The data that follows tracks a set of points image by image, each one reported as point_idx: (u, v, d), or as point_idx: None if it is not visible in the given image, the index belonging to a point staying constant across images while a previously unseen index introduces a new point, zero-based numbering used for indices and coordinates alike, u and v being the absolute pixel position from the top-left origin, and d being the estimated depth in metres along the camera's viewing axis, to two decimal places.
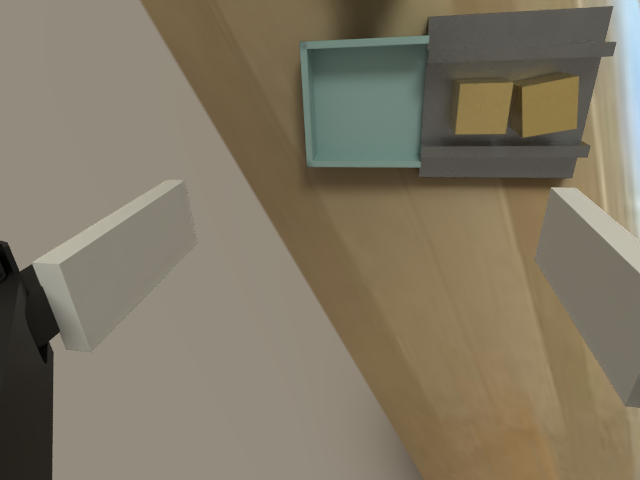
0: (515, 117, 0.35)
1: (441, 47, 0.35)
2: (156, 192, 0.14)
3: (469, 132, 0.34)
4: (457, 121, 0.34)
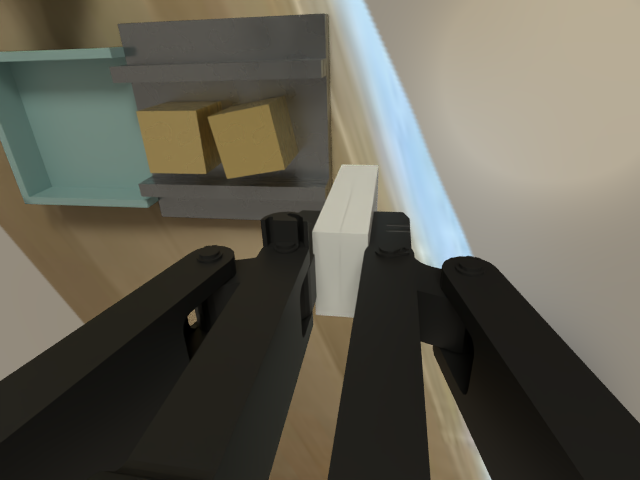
0: None
1: (142, 62, 0.28)
2: (347, 175, 0.15)
3: (165, 171, 0.27)
4: (147, 157, 0.27)
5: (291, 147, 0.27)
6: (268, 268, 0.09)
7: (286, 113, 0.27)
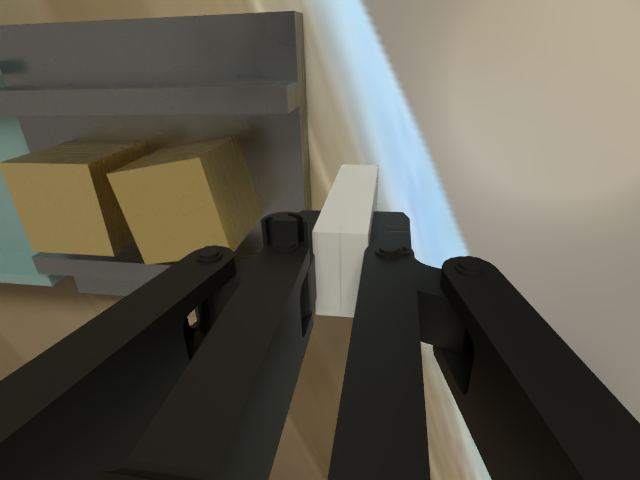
0: None
1: (27, 83, 0.19)
2: (347, 175, 0.15)
3: (54, 249, 0.18)
4: (26, 229, 0.17)
5: (247, 212, 0.18)
6: (268, 268, 0.09)
7: (240, 162, 0.18)
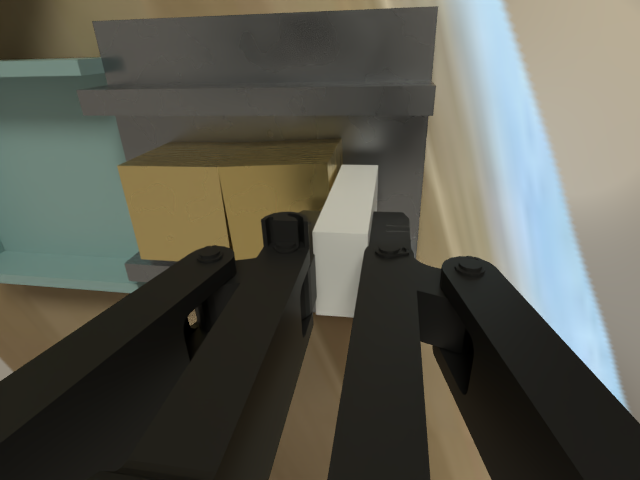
0: None
1: (131, 82, 0.18)
2: (347, 175, 0.15)
3: (165, 257, 0.17)
4: (137, 236, 0.16)
5: None
6: (268, 268, 0.09)
7: None
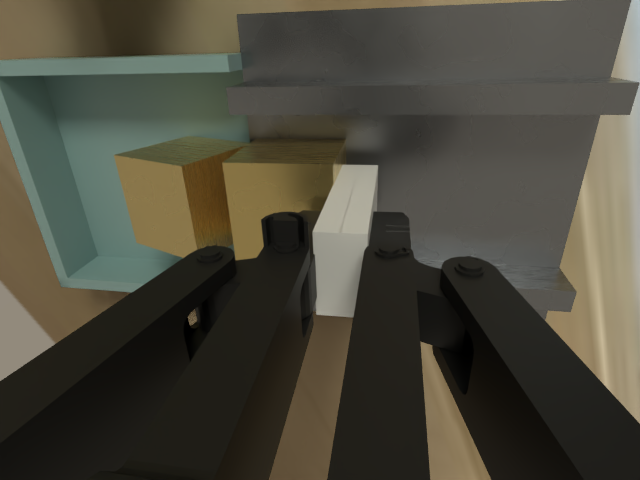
0: None
1: (270, 79, 0.17)
2: (347, 175, 0.15)
3: (152, 245, 0.18)
4: (132, 221, 0.18)
5: None
6: (269, 268, 0.09)
7: None
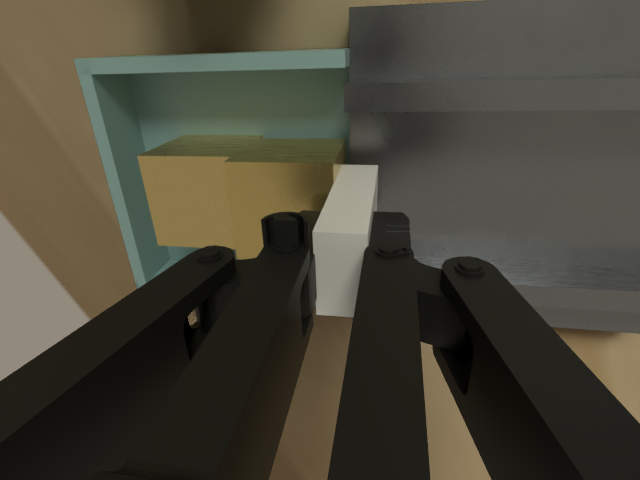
0: None
1: (379, 75, 0.16)
2: (347, 175, 0.15)
3: (181, 243, 0.18)
4: (154, 223, 0.17)
5: None
6: (268, 268, 0.09)
7: None
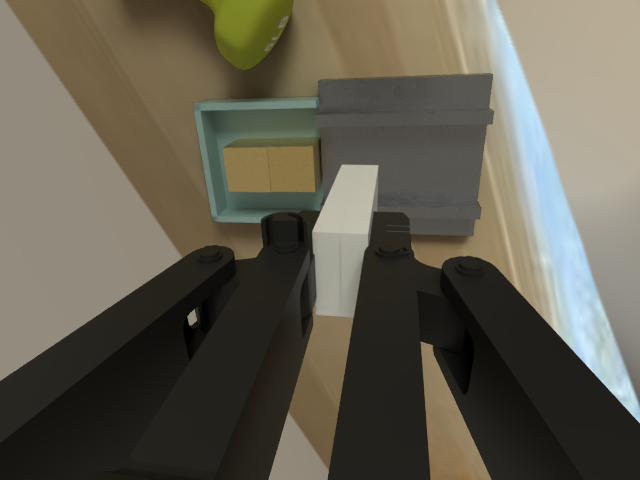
0: None
1: (332, 109, 0.35)
2: (347, 175, 0.15)
3: (240, 190, 0.37)
4: (228, 180, 0.36)
5: (320, 175, 0.37)
6: (268, 268, 0.09)
7: (320, 150, 0.37)
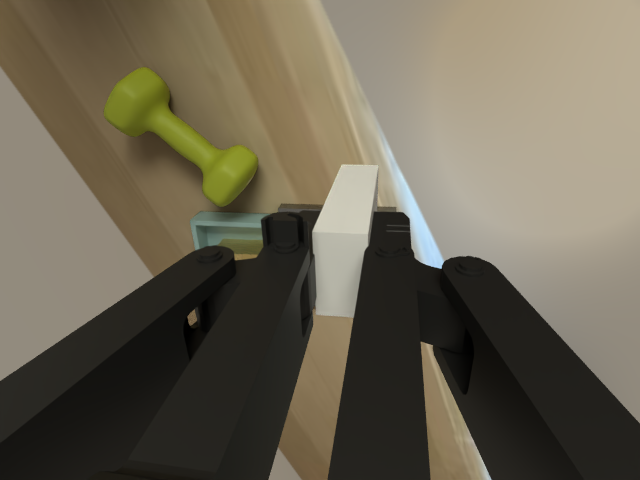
0: None
1: None
2: (347, 175, 0.15)
3: None
4: None
5: None
6: (268, 268, 0.09)
7: None
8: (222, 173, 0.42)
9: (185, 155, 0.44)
